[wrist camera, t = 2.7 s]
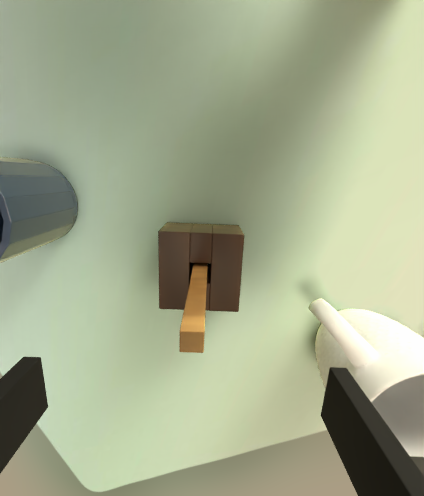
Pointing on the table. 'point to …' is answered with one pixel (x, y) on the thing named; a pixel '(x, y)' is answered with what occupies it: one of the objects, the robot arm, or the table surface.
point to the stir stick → (194, 311)
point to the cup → (33, 206)
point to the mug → (377, 365)
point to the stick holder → (200, 251)
